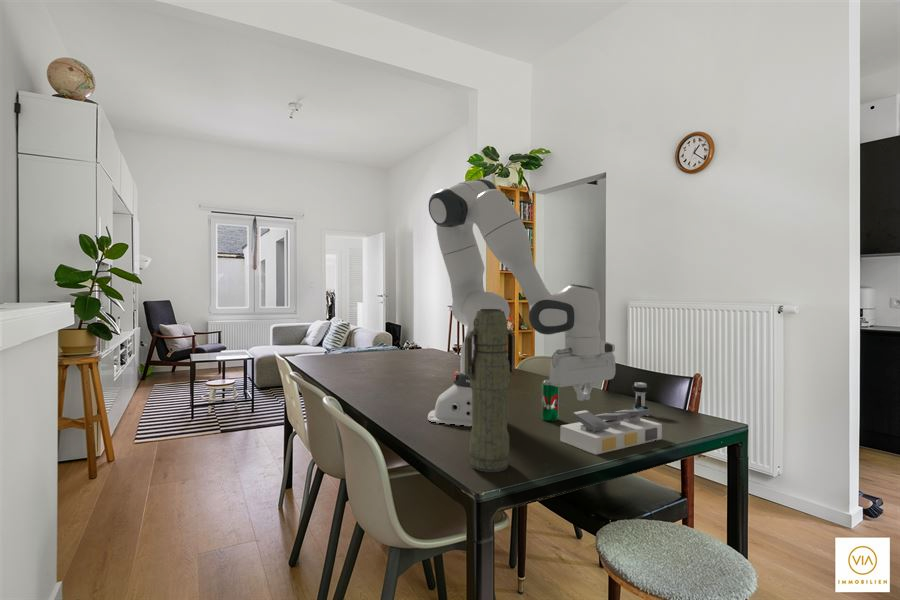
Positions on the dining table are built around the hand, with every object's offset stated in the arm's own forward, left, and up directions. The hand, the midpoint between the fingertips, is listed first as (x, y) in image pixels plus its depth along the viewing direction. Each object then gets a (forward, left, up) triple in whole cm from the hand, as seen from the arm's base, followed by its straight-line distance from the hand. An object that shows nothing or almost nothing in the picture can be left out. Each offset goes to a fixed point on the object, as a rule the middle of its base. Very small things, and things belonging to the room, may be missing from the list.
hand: (583, 399), depth 121 cm
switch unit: (+8, +3, -11) cm, 14 cm away
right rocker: (+14, +7, -5) cm, 17 cm away
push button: (+24, +31, -11) cm, 40 cm away
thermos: (-24, -19, -11) cm, 33 cm away
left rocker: (+1, -2, -5) cm, 5 cm away
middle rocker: (+8, +3, -5) cm, 10 cm away
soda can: (-6, +21, -11) cm, 24 cm away
